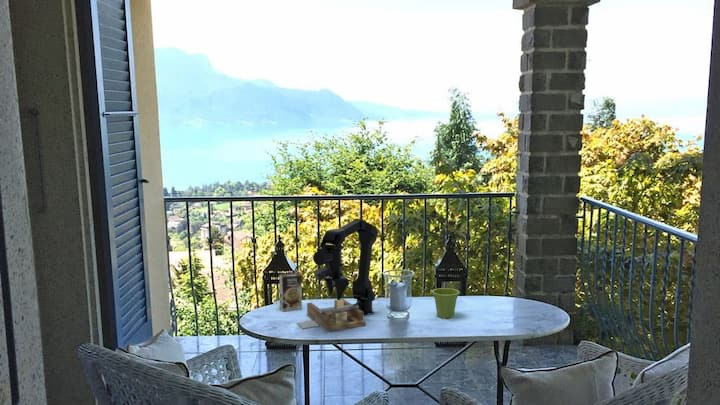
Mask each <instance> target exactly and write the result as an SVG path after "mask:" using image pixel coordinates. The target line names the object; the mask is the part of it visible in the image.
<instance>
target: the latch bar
mask: <svg viewBox="0 0 720 405" xmlns="http://www.w3.org/2000/svg"><path fill="white" fill-rule="evenodd" d="M342 299H343V298H342ZM342 299H340V300H337V299H334V304H333V305H334V306H330V307H321V308H320V309H319V312H320V313H322V314H323V313H330V312H337V311H344V310H350V309H357V308H359V306H358V305H357V304H356V303H350V305H344V301H343V300H342Z"/></svg>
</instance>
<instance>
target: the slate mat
mask: <svg viewBox="0 0 720 405" xmlns="http://www.w3.org/2000/svg"><path fill="white" fill-rule="evenodd" d="M296 325H297V326H299V327H300V328H301V329H302V330H307V329H313V328H318V327H321V326H320V325H319V324H318V323H317V322H315V321H314V320H308V321H307V320H306V321H300V322H296Z"/></svg>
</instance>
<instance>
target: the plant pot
mask: <svg viewBox="0 0 720 405" xmlns="http://www.w3.org/2000/svg"><path fill="white" fill-rule="evenodd" d="M431 292H432V294H433V297H434V301H435V302H434V303H435V308H436V315H437V317H439V318H442V319H448V318H449V319H450V318H453V317H454V316H455V311H456V304H457V299H458V295H459V294H460V291H459V290H458V289H455V288H448V287H447V288H446V287H444V288H443V287H441V288H439V287H438V288H434V289H432V291H431Z"/></svg>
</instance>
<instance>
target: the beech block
mask: <svg viewBox="0 0 720 405" xmlns="http://www.w3.org/2000/svg"><path fill="white" fill-rule="evenodd" d="M331 321H332V322H333V323H334V324H341V323H348V321H347V312H345V311H337V312H331Z"/></svg>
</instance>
